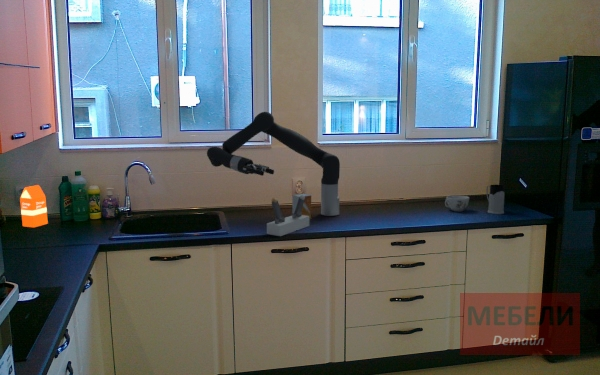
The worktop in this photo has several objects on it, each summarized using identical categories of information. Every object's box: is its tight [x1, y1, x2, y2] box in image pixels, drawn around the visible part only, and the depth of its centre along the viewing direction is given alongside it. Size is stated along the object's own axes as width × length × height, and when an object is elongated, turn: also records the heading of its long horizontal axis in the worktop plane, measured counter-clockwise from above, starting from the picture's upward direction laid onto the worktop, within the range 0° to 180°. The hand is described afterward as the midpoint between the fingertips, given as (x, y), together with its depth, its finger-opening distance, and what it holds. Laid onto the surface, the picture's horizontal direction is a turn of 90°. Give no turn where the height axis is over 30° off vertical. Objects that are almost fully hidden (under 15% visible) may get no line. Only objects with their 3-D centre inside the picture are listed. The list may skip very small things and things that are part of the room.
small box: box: [291, 193, 312, 221], centre depth 274 cm, size 8×6×13 cm
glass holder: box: [485, 184, 506, 215], centre depth 292 cm, size 9×14×15 cm, turn 14°
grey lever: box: [294, 195, 305, 217], centre depth 256 cm, size 3×4×12 cm
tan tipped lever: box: [271, 197, 284, 222], centre depth 247 cm, size 3×4×12 cm
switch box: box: [266, 212, 310, 237], centre depth 253 cm, size 8×24×7 cm, turn 145°
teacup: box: [444, 194, 471, 212], centre depth 294 cm, size 15×12×8 cm
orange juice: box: [19, 184, 49, 228], centre depth 263 cm, size 8×9×20 cm
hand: (268, 172), depth 246 cm, fingers open, 8 cm apart
